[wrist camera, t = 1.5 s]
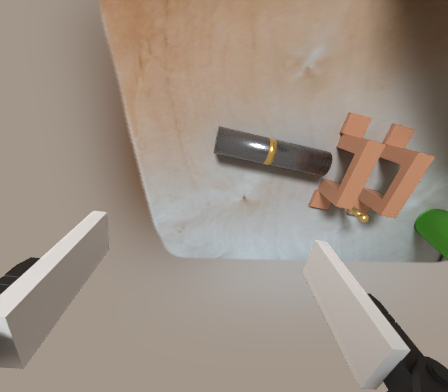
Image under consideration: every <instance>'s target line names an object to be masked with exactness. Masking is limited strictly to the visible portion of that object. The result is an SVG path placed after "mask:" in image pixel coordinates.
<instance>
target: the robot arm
mask: <svg viewBox="0 0 448 392" xmlns="http://www.w3.org/2000/svg"><path fill="white" fill-rule="evenodd" d="M108 250H109V237H108V218H107V212H101V211H93V212H91V213H90V214H89V215H88V216H87V217H86V218H85V219H84V220H83V221H81V222H80V223H79V224H78V225H77V226H76V227H75V228H74V229H73V230H71V231H70V232H69V233H68V234H67V235H66V236H65V237H64V238H63V239H62V240H60V241H59V242H58V243H57V244H56V245H55V246H54V247H53V248H52V249H51V250H49V251H48V252H47V253H46V254H45V255H44V256H43V257H42V258H32V257H31V258H29V259H27V260H25V261H23V262H21V263H19V264H17V265H16V266H15V267H13V268H12V269H11V270H10V271H9V272H7V273H6V274H5V276H4V277H1V278H0V367H2V368H20V369H24V368H25V366H26V365H27V363H28V362H29V360H30V359H31V358H32V356H33V355H34V353H35V352H36V351H37V349H38V348H39V347H40V345H41V344H42V342H43V341H44V340H45V338H46V337H47V335H48V334H49V332H50V331H51V330H52V328H53V327H54V326H55V324H56V323H57V321H58V320H59V318H60V317H61V316H62V314H63V313H64V312H65V310H66V309H67V307H68V306H69V305H70V303H71V302H72V300H73V299H74V298H75V296H76V295H77V294H78V292H79V291H80V289H81V288H82V287H83V285H84V284H85V282H86V281H87V280H88V278H89V277H90V275H91V274H92V273H93V271H94V270H95V269H96V267H97V265H98V264H99V263H100V262H101V260H102V259H103V257H104V256H105V255H106V253H107V252H108ZM302 273H303V275H304V277H305V279H306V281H307V283H308V285H309V287H310V289H311V291H312V293H313V295H314V297H315V299H316V301H317V303H318V305H319V308H320V310H321V311H322V313H323V316H324V317H325V320H326V322H327V324H328V326H329V328H330V330H331V332H332V334H333V336H334V338H335V340H336V342H337V344H338V346H339V348H340V350H341V352H342V354H343V356H344V358H345V360H346V362H347V364H348V366H349V368H350V370H351V372H352V374H353V376H354V378H355V380H356V382H357V384H358V386H359V388H361V389H377V388H378V387H379V386H380V385H381V383H382V382H383V381H384V383H385V385H386V387H387V388H388V391H387V392H448V369H447V368H446V367H444V366H443V365H441V364H440V363H439V362H437V361H436V360H433V359H431V358H430V357H425V356H423V354H422V353H421V352H420V351H419V350H418V348H417V347H416V346H415V345H414V343H413V342H412V341H411V340H410V339H409V337H408V336H407V335H406V334H405V332H404V331H403V330H402V329H401V327H400V326H399V325H398V324H397V323H395V320H394V319H393V318H392V316H391V315H390V314H388V312H387V310H386V309H385V308H384V306H383V305H382V304H381V303H380V302H379V301H378V300H377V299H376V298H374V297H373V296H372V295H371V294H367V293H366V292H365V291H364V290H363V288H362V287H361V286H360V284H359V283H358V282H357V281H356V279H355V278H354V277H353V275H352V274H351V273H350V271H349V270H348V269H347V268H346V266H345V265H344V264H343V262H342V261H341V260H340V259H339V257H338V256H337V255H336V253H335V252H334V251H333V250H332V248H331V247H330V246H329V244H328V243H327V242H325V241H317V240H315V243H314V245H313V247H312V250H311V252H310V254H309V257H308V259H307V261H306V264H305V266H304V268H303V270H302Z"/></svg>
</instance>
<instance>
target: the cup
mask: <svg viewBox="0 0 448 392" xmlns="http://www.w3.org/2000/svg"><path fill="white" fill-rule="evenodd" d="M415 228H416V230H417V232H418V233H419V234H420V235H421V236H423V237H424V238H425V239H426V240H427V241H428V242H429V243H430V244H431V245H432V246H433V247H434V248H436V249H437V250H438V251H439V252H440V253H441V254H442V255H443V256H444V257H445V258H446V259H448V212H447V211H444V210H440V209H431V210H428V211H426V212H424V213H422V214H421V215H420V216H419V217H418V218H417V220H416V222H415Z"/></svg>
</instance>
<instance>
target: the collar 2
mask: <svg viewBox="0 0 448 392" xmlns="http://www.w3.org/2000/svg"><path fill="white" fill-rule="evenodd" d="M414 131H415V129H412V128H408V127H404V126H400V125H397V124H392V126H391V128H390V130H389V132H388V134H387V136H386V138H385V140H384V141H383V143H384V144H386V146H385V148H384V150H383V151H382V153H381V155H380V157H381V158H384V159H386V160H389V161H392V162H395V163H398V164H401V165H402V166H401V168H400V170H399V171H398V173H397V175H396V176H395V178H394V180H393V181H392V183H391V185H390V187H389V188H388V190H387V192H386V193H385V195H383V194H381V193H379V192H377V191H376V190H372V189H367V188H363V189H362V191H361V193H360V195H359V197H358V198H357V200H356V202H355V204H354V207H356V208H357V209H358V210H359V211H361V212H362V213H365V214H367V213H368V212H369V210H370V208H371V209H372V210H374V211H375V212H376V213H378V214H379V215H381V216H386V217H391V218H396V217H397V215H398V214H399V212H400V211H401V209H402V208H403V206H404V204H405V203H406V201H407V200H408V198H409V197H410V195H411V194H412V192H413V190H414V189H415V187H416V186H417V184H418V183H419V181H420V179H421V178H422V176H423V175H424V173H425V172H426V170H427V169H428V167H429V165H430V164H431V162H432V161H433V159H434V158H435V156H431V155H427V154H424V153H420V152H416V151H412V150H408V149H405V147H406V145H407V143H408V142H409V140H410V138H411V136H412V135H413V133H414ZM347 213H348V214H351V215H353V214H352V213H351V212H350V211H348V210H347Z"/></svg>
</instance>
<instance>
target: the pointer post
mask: <svg viewBox="0 0 448 392" xmlns="http://www.w3.org/2000/svg"><path fill="white" fill-rule="evenodd" d="M338 208H341V207H338ZM347 210H348V211H350V212H351V213H352V214H353V215H354V216H356V217H357V219H358V221H359V222H361V223H366V222H368V221H369V216H368V215H367V214H365V213H362V212H361V211H359V210H358V209H357V208H356V207H354V206H353V208H352V210H351V209H347Z"/></svg>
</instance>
